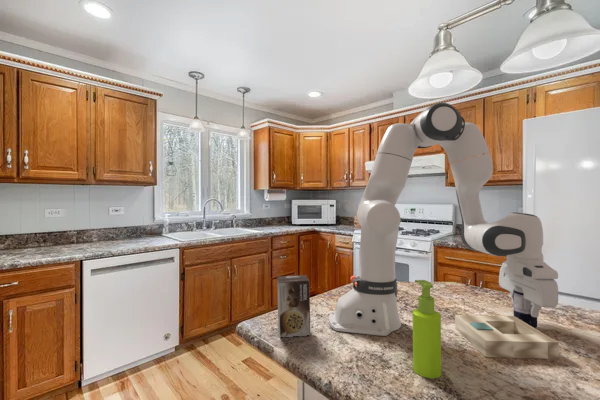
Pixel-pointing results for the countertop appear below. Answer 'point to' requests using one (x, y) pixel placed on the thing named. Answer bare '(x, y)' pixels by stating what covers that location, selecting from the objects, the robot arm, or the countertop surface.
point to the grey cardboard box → (293, 306)
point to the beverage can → (523, 307)
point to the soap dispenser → (426, 335)
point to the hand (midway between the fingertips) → (525, 311)
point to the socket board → (506, 337)
